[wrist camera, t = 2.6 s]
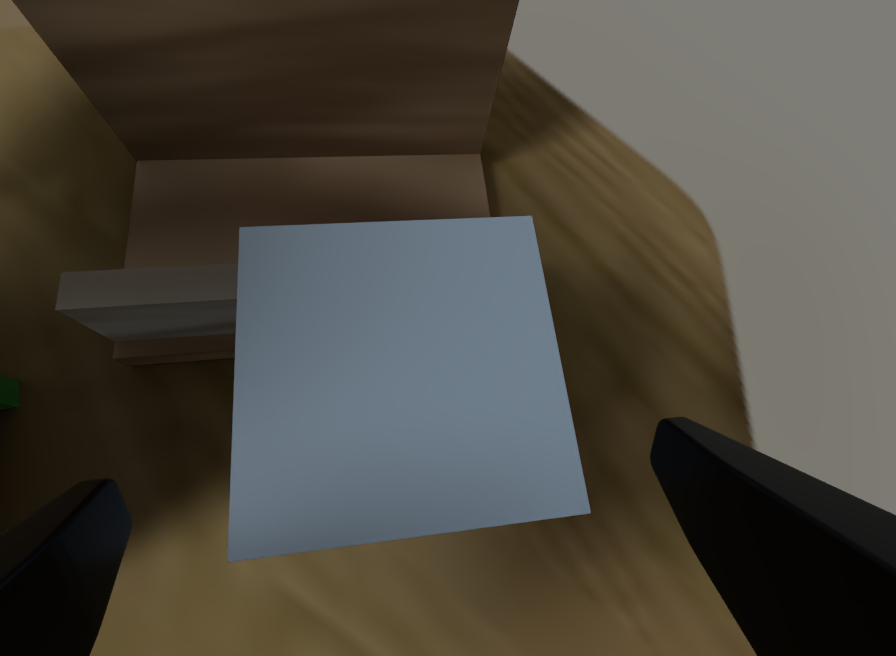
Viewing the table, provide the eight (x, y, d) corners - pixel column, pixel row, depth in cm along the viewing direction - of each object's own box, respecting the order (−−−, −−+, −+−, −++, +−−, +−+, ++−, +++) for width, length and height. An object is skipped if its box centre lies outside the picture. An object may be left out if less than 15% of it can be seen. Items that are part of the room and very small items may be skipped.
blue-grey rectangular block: (474, 500, 17) (590, 513, 7) (331, 518, 16) (227, 562, 6) (457, 365, 18) (531, 216, 8) (326, 376, 17) (239, 227, 8)
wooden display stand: (503, 337, 19) (707, 48, 7) (128, 365, 17) (-583, 30, 5) (471, 140, 22) (569, -303, 10) (152, 145, 20) (-230, -402, 8)
